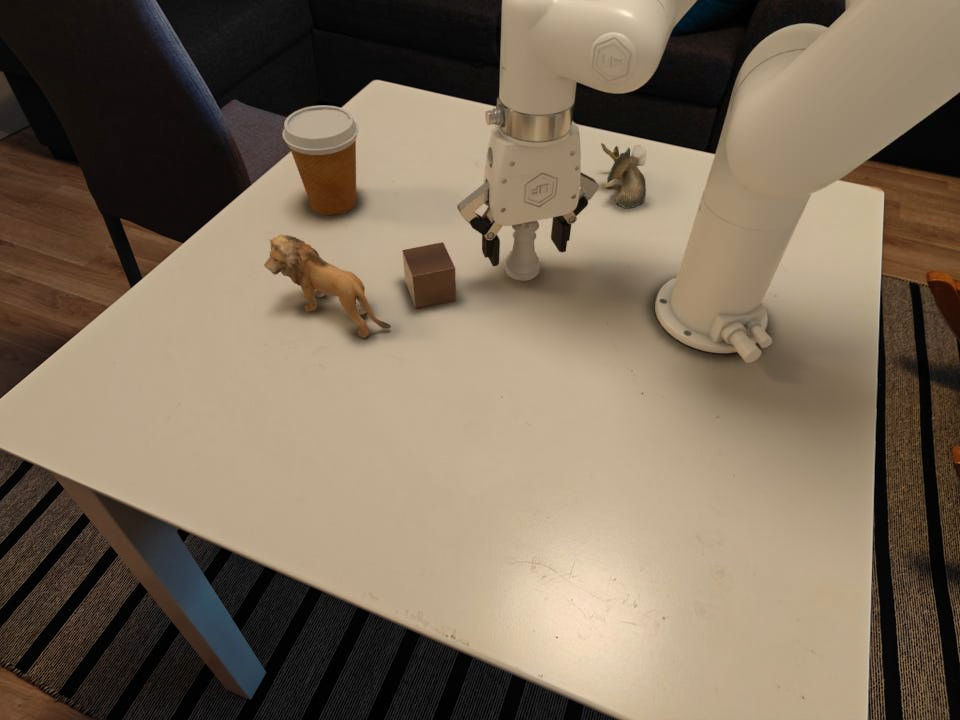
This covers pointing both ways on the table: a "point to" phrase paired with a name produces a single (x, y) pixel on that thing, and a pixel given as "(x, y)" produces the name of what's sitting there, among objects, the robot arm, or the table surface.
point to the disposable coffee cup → (324, 156)
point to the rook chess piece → (523, 253)
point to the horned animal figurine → (628, 175)
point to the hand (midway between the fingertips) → (525, 251)
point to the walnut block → (429, 275)
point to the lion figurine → (320, 278)
